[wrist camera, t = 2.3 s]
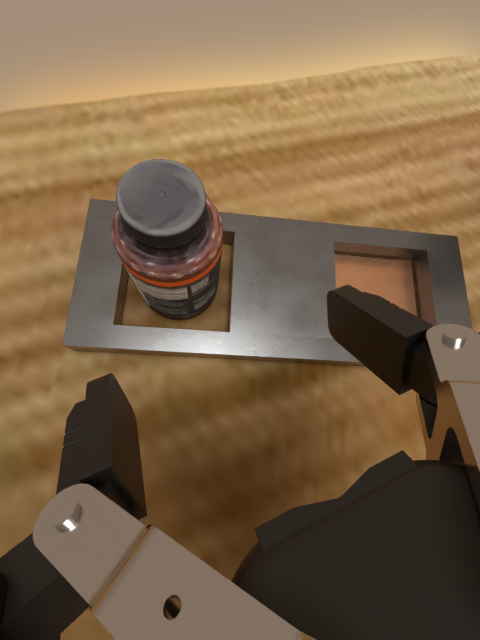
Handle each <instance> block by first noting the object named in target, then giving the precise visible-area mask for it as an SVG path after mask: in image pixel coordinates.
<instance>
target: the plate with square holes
mask: <svg viewBox="0 0 480 640" xmlns="http://www.w3.org/2000/svg"><path fill="white" fill-rule="evenodd" d="M116 208H117V203H116V201H107V200H97V199H90V203H89V208H88V213H87V219H86V224H85V229H84V234H83V240H82V245H81V250H80V255H79V261H78V266H77V271H76V277H75V282H74V287H73V292H72V298H71V303H70V308H69V313H68V319H67V324H66V329H65V334H64V340H63V346H65V347H67V348H70V349H72V350H75V351H93V352H112V353H130V354H149V355H167V356H185V357H204V358H222V359H241V360H259V361H277V362H296V363H314V364H332V365H351V366H365V365H363V364H362V363H361V362H360V361H359V360H357V359H356V358H355V357H354V356H353V355H352V354H350V353H349V352H348V351H347V350H346V349H344V348H343V347H342V346H341V345H340V344H339V343H337V342H336V341H335V340H334V339H333V337H332V336H331V334H330V332H329V328H328V315H327V293H328V292H329V291H331V290H334V289H337V288H339V287H342V286H344V285H351V286H352V287H354V288H356V289H358V290H359V291H361V292H367V293H371V294H375V295H379V296H381V297H382V298H384V299H386V300H388V301H390V303H393V304H395V305H397V306H399V308H400V309H401V308H402V309H404V310H406V311H408V312H410V313H412V314H413V315H415V316H417V314H418V317H419V318H421V319H422V320H424V321H426V322H428V323H430V324H432V325H433V326H436V325H440V324H457V325H462V326H465V327H468V328H470V329H472V323H471V317H470V311H469V305H468V299H467V293H466V287H465V280H464V274H463V268H462V262H461V256H460V250H459V244H458V238H457V236H448V235H438V234H428V233H418V232H409V231H399V230H389V229H379V228H370V227H360V226H350V225H341V224H331V223H321V222H311V221H302V220H292V219H282V218H272V217H263V216H253V215H243V214H233V213H224V212H219V214H220V217H221V220H222V225H223V244H232V261H231V281H230V301H229V322H228V332H218V331H202V330H186V329H170V328H154V327H139V326H123V325H121V323H122V316H123V309H124V302H125V295H126V288H127V281H128V274H129V273H128V272H127V270H126V268H125V267H124V265H123V263H122V261H121V259H120V257H119V255H118V254H117V252H116V249H115V247H114V244H113V240H112V235H111V222H112V217H113V214H114V212H115V209H116ZM335 254H342V255H352V256H342V255H335ZM353 256H363V257H353ZM364 257H374V258H364ZM375 258H385V259H375ZM386 259H396V260H386ZM397 260H407V261H411V262H407V261H397ZM411 263H412V267H411ZM412 271H413V276H412ZM413 280H414V284H413ZM414 288H415V293H414ZM415 297H416V302H415ZM416 305H417V310H416ZM472 330H473V329H472Z"/></svg>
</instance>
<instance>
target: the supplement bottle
mask: <svg viewBox="0 0 480 640" xmlns="http://www.w3.org/2000/svg"><path fill="white" fill-rule="evenodd" d="M116 203H117V208H116V209H115V212H114V214H113V217H112V222H111V235H112V240H113V244H114V247H115V249H116V252H117V254H118V255H119V257H120V259H121V261H122V263H123V265H124V267H125V268H126V270H127V272H128V273H129V275H130V277H131V278H132V280H133V282H134V285H136V287H137V289H138V290H139V292H140V294H141V295H142V297H143V298H144V300H145V301H146V303H147V304H148V305H149V306H150V307H151V308H152V310H154V311H155V312H156V313H158V314H160V315H162V316H164V317H167V318H171V319H187V318H191V317H193V316H196V315H198V314H200V313H201V312H203V311H204V310H205V309H206V308H207V307H208V306H209V305H210V304H211V302H212V301H213V299H214V297H215V294H216V291H217V287H218V280H219V270H220V262H221V254H222V244H223V225H222V220H221V217H220V214H219V212H218V210H217V208H216V206H215V205H214V203H213V202H212V201H211V199H210V198H209V197H208V196H207V195H206V193H205V189H204V186H203V184H202V182H201V180H200V179H199V177H198V176H197V175H196V174H195V173H194V172H193V171H192V170H191V169H189V168H188V167H186V166H184V165H182V164H180V163H178V162H175V161H171V160H165V159H152V160H148V161H144V162H141V163H139V164H137V165H135V166H134V167H132V168H131V169H129V170H128V171H127V172H126V173H125V175H124V176H123V177H122V178H121V180H120V182H119V184H118V187H117V191H116Z"/></svg>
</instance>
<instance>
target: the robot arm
mask: <svg viewBox="0 0 480 640" xmlns="http://www.w3.org/2000/svg"><path fill="white" fill-rule="evenodd" d="M327 315H328V328H329V332H330V334H331V336H332V337H333V339H334V340H335V341H336V342H337V343H339V344H340V345H341V346H342V347H343V348H344V349H346V350H347V351H348V352H349V353H350V354H352V355H353V356H354V357H355V358H356V359H357V360H359V361H360V362H361V363H362V364H363V365H365V366H366V367H367V368H368V369H369V370H370V371H372V372H373V373H374V374H375V375H376V376H378V377H379V378H380V379H381V380H382V381H383V382H385V383H386V384H387V385H388V386H389V387H390V388H392V389H393V390H394V391H395V392H396V393H398V394H399V395H401V394H403V393H405V392H407V391H409V390H411V389H413V390H414V391H416V392H417V394H416V403H417V408H418V413H419V418H420V422H421V427H422V432H423V437H424V442H425V447H426V460H416V461H413V460H412V459H411V458H410V457H409V456H408V455H407V454H406V453H405V452H404V451H403V450H402V451H400V452H399V453H397V454H395V455H393V456H391V457H389V458H387V459H385V460H383V461H381V462H380V463H378V464H376V465H374V466H372V467H370V468H369V469H368V470H367V471H366V472H365V473H364V474H363V475H362V476H361V477H360V478H359V479H358V480H357V481H356V482H355V483H354V484H353V485H352V486H351V487H350V488H349V489H348V490H347V491H346V492H345V494H344V495H342V496H341V497H339V498H337V499H333V500H328V501H323V502H319V503H314V504H309V505H304V506H300V507H295V508H293V509H291V510H289V511H287V512H285V513H283V514H281V515H279V516H277V517H276V518H274V519H272V520H270V521H268V522H266V523H264V524H262V525H260V526H259V527H257V528H255V531H256V533H257V536H258V539H259V542H258V543H257V544H256V545H255V546H254V547H253V548H252V549H251V550H250V552H249V553H248V554H247V556H246V557H245V558H244V560H243V561H242V563H241V564H240V566H239V568H238V569H237V571H236V573H235V575H234V577H233V579H232V582H231V581H230V580H228V579H227V578H226V577H224V576H223V575H221V574H220V573H219V572H217V571H216V570H215V569H213V568H212V567H210V566H209V565H208V564H206V563H205V562H204V561H202V560H201V559H199V558H198V557H197V556H195V555H194V554H192V553H191V552H190V551H188V550H187V549H186V548H184V547H183V546H181V545H180V544H179V543H177V542H176V541H175V540H173V539H172V538H170V537H169V536H168V535H166V534H165V533H164V532H162V531H161V530H159V529H158V528H156V527H154V526H152V525H149V526H146V525H144V524H142V523H141V522H140V521H138V520H139V519H141V518H143V517H145V516H147V511H146V502H145V493H144V484H143V476H142V467H141V458H140V449H139V440H138V432H137V423H136V418H135V415H134V412H133V409H132V407H131V405H130V403H129V401H128V399H127V398H126V396H125V394H124V392H123V390H122V389H121V387H120V385H119V383H118V382H117V380H116V378H115V376H114V375H113V374H112V373H111V374H108V375H105V376H103V377H100V378H97V379H95V380H92V381H90V382H88V383H87V388H86V400H84V401H82V402H79V403H76V404H75V406H74V407H73V409H72V411H71V412H70V414H69V416H68V418H67V421H66V428H65V434H66V435H65V436H64V443H63V445H64V447H63V450H62V457H61V464H60V471H59V478H58V486H57V493H56V496H54V497H53V498H52V499H51V500H50V501H49V502H48V503H47V504H46V506H45V507H44V508H43V510H42V511H41V513H40V514H39V516H38V518H37V520H36V522H35V525H34V529H33V533H32V534H31V535H29V536H28V537H27V538H26V539H25V540H23V541H22V542H21V543H19V544H18V545H17V546H15V547H14V548H13V549H11V550H10V551H9V552H7V553H6V554H5V555H4V556H2V557H1V558H0V640H60V633H62V632H63V631H64V630H65V629H66V628H67V627H68V626H69V625H70V624H71V623H72V622H73V621H74V620H75V619H76V618H78V617H79V616H80V615H81V614H82V613H83V612H84V611H85V610H86V609H87V608H88V607H89V606H90V607H89V609H90V611H91V612H92V614H93V615H94V616H95V617H96V618H97V620H98V621H99V622H100V623H101V624H102V625H103V626H104V627H105V629H106V630H107V631H108V632H109V633H110V634H111V635H112V636H113V637H114V639H115V640H480V333H477V332H476V331H474V330H472V329H470V328H468V327H465V326H462V325H457V324H440V325H436V326H433V325H432V324H430V323H428V322H426V321H424V320H422V319H421V318H419V317H417V316H415V315H413V314H412V313H410V312H408V311H406V310H404V309H402V308H401V309H400V308H399V306H397V305H395V304H393V303H390V301H388V300H386V299H384V298H382V297H381V296H379V295H375V294H371V293H367V292H361V291H359V290H358V289H356V288H354V287H352V286H351V285H344V286H342V287H339V288H337V289H334V290H331V291H329V292H328V293H327Z"/></svg>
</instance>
